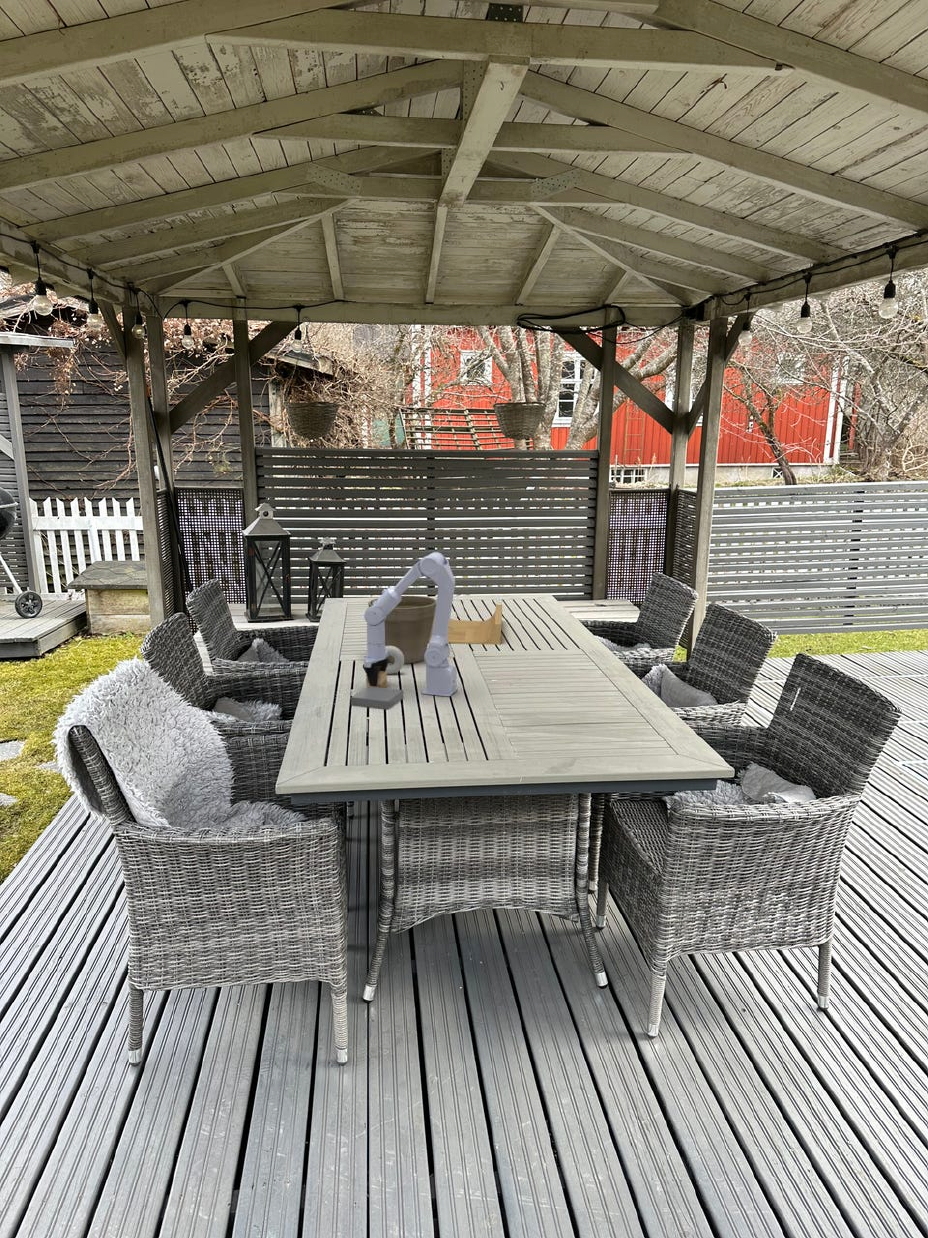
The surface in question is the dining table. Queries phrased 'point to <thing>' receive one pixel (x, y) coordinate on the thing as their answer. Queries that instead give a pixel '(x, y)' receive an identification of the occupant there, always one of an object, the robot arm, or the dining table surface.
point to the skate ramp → (476, 630)
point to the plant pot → (410, 626)
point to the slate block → (377, 697)
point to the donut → (398, 659)
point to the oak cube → (379, 680)
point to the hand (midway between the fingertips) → (376, 683)
